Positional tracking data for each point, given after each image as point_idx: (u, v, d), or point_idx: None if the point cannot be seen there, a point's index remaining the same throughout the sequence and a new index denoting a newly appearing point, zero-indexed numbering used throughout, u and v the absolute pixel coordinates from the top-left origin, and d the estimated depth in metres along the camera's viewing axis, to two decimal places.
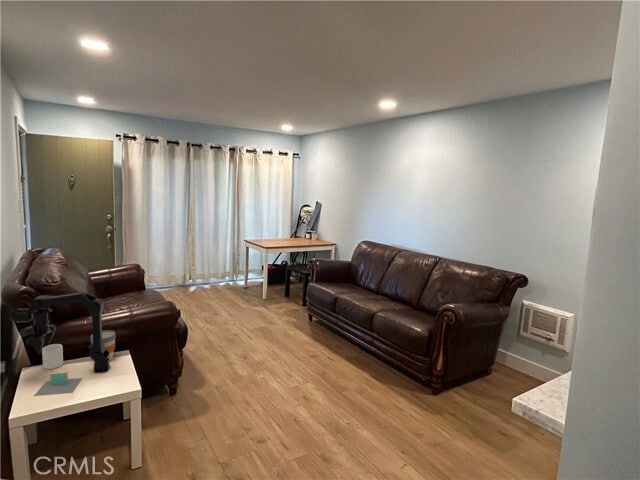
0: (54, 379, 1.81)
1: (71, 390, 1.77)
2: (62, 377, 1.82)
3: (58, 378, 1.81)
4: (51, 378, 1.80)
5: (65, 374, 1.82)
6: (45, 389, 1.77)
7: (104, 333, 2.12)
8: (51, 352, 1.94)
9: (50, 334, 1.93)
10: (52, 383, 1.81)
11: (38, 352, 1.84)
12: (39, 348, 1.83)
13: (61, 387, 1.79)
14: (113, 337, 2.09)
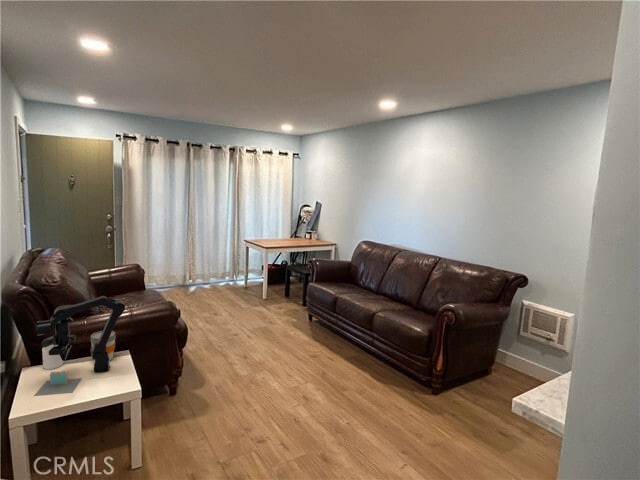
0: (54, 379, 1.81)
1: (71, 390, 1.77)
2: (62, 377, 1.82)
3: (58, 378, 1.81)
4: (51, 378, 1.80)
5: (65, 374, 1.82)
6: (45, 389, 1.77)
7: None
8: None
9: None
10: (52, 383, 1.81)
11: (63, 359, 1.86)
12: (64, 355, 1.86)
13: (61, 387, 1.79)
14: (113, 337, 2.09)
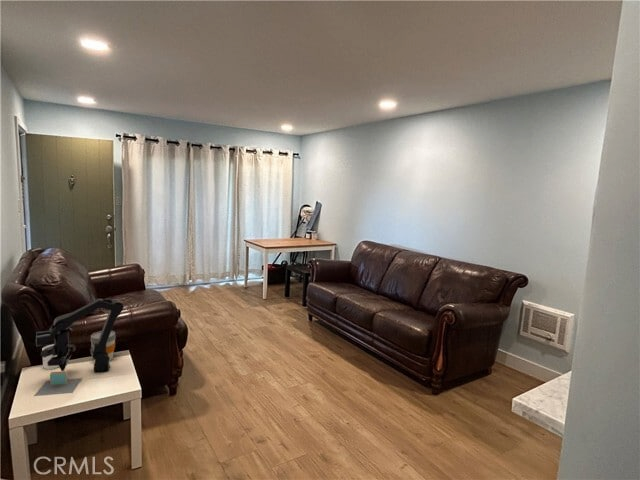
0: (54, 379, 1.81)
1: (71, 390, 1.77)
2: (62, 377, 1.82)
3: (58, 378, 1.81)
4: (51, 378, 1.80)
5: (65, 374, 1.82)
6: (45, 389, 1.77)
7: None
8: None
9: None
10: (52, 383, 1.81)
11: (62, 369, 1.86)
12: (63, 365, 1.85)
13: (61, 387, 1.79)
14: (113, 337, 2.09)
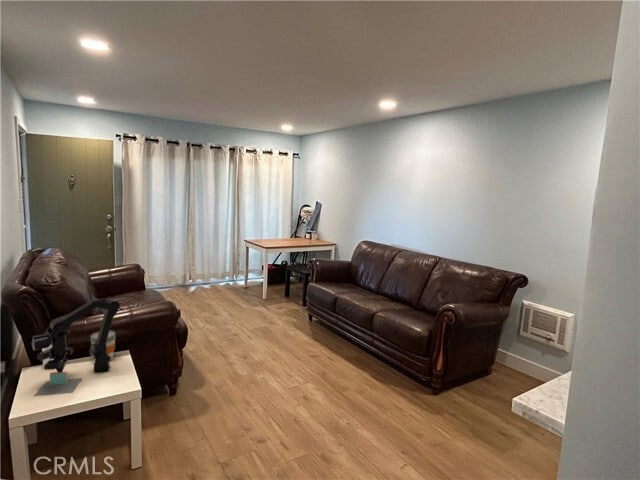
0: (53, 380, 1.81)
1: (71, 390, 1.77)
2: (62, 377, 1.81)
3: (58, 378, 1.81)
4: (51, 378, 1.80)
5: (65, 375, 1.81)
6: (45, 389, 1.77)
7: None
8: None
9: None
10: (52, 383, 1.81)
11: None
12: (60, 369, 1.82)
13: (61, 387, 1.79)
14: (113, 337, 2.09)
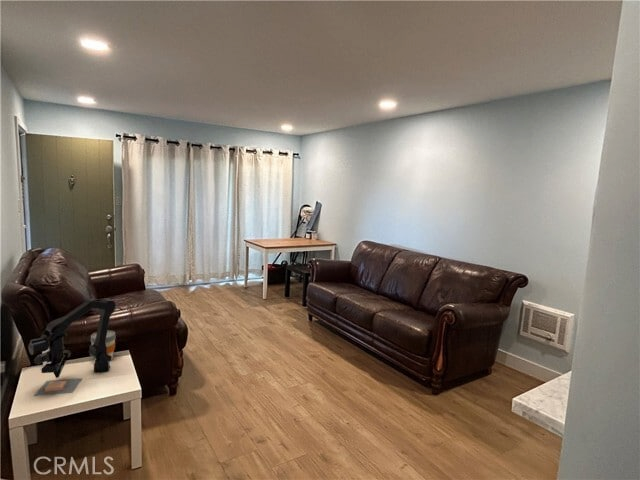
0: None
1: (71, 390, 1.77)
2: None
3: None
4: None
5: None
6: None
7: None
8: None
9: None
10: None
11: (56, 376, 1.79)
12: (58, 372, 1.79)
13: None
14: (113, 337, 2.09)
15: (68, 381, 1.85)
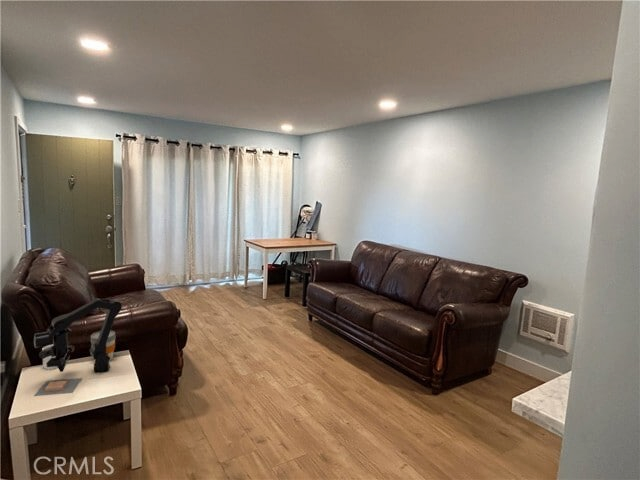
0: None
1: (71, 390, 1.77)
2: None
3: None
4: None
5: None
6: None
7: None
8: None
9: None
10: None
11: (61, 370, 1.84)
12: (62, 366, 1.84)
13: None
14: (113, 337, 2.09)
15: (68, 381, 1.85)
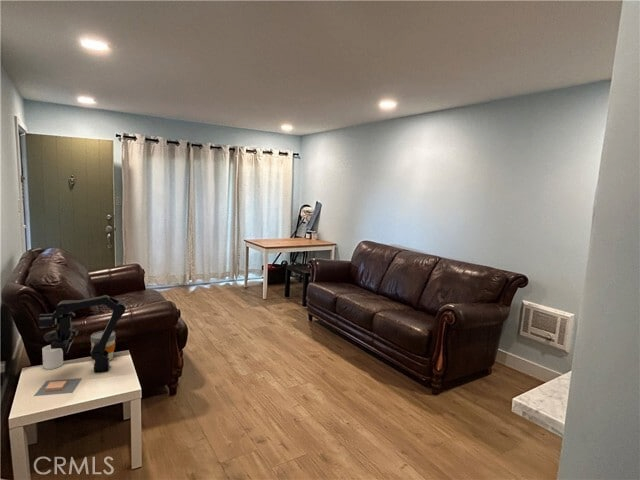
0: None
1: (71, 390, 1.77)
2: None
3: None
4: None
5: None
6: None
7: None
8: (51, 352, 1.94)
9: None
10: None
11: (65, 353, 1.89)
12: (66, 349, 1.88)
13: None
14: (113, 337, 2.09)
15: (68, 381, 1.85)
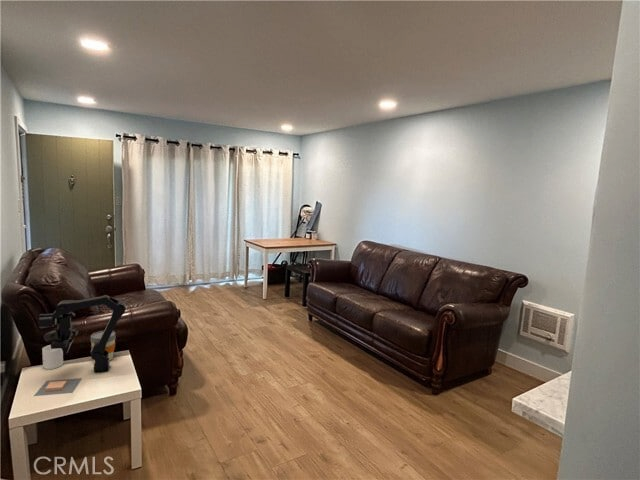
0: None
1: (71, 390, 1.77)
2: None
3: None
4: None
5: None
6: None
7: None
8: (51, 352, 1.94)
9: None
10: None
11: (65, 353, 1.89)
12: (66, 349, 1.88)
13: None
14: (113, 337, 2.09)
15: (68, 381, 1.85)
